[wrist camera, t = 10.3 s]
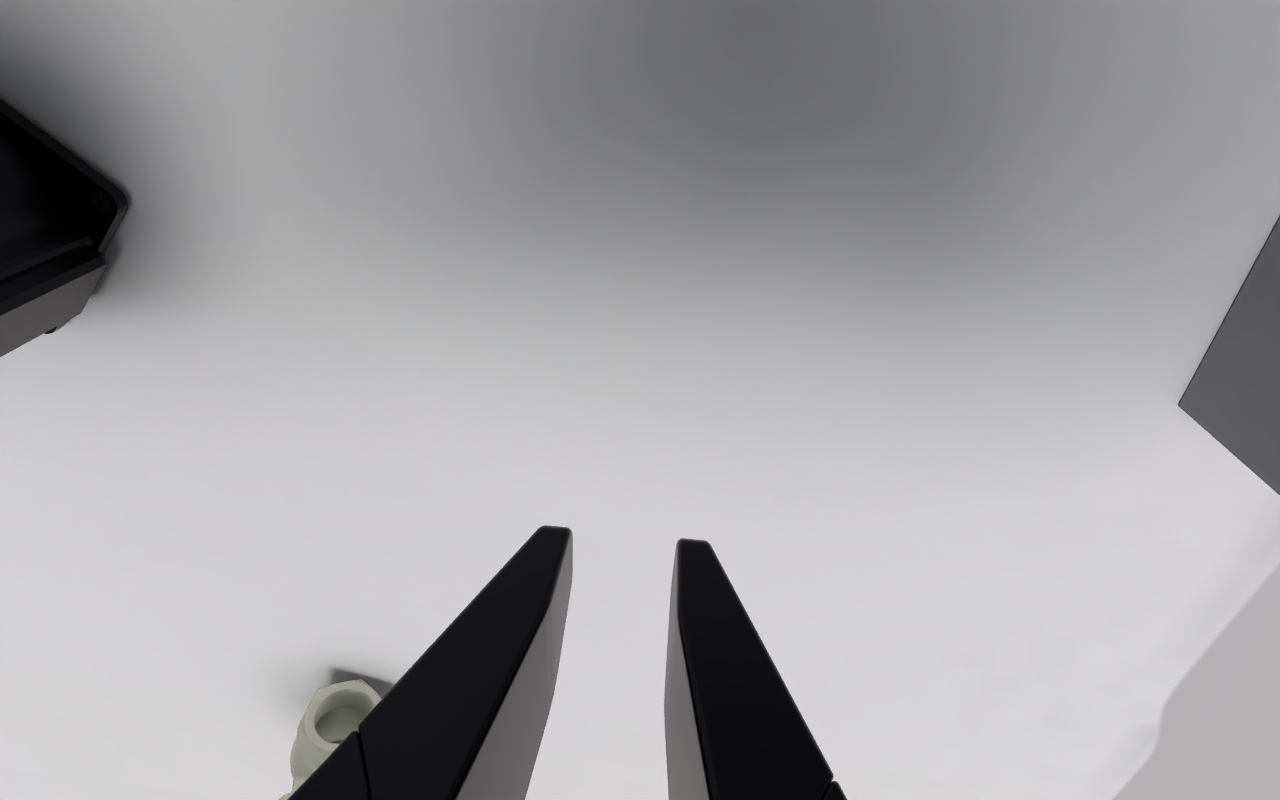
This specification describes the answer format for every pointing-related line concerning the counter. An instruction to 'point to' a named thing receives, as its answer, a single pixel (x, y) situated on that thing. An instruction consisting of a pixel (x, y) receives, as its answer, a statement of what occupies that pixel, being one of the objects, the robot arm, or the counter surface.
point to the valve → (328, 725)
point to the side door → (1246, 372)
